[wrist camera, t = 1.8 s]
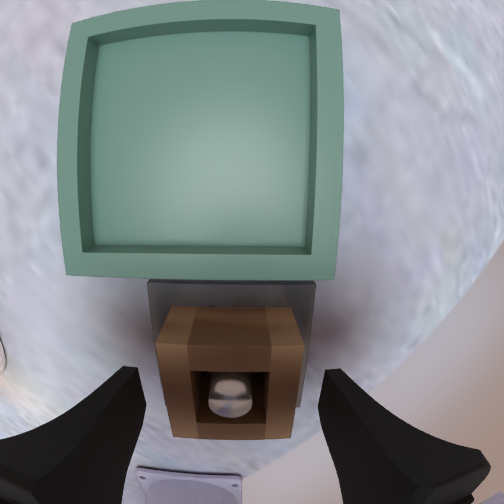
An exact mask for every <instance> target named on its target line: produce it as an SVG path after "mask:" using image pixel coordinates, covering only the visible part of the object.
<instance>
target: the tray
mask: <svg viewBox="0 0 504 504" xmlns="http://www.w3.org/2000/svg"><path fill="white" fill-rule="evenodd" d="M343 134H344V94H343V59H342V40H341V25H340V12H339V9H333V8H327V7H321V6H315V5H308V4H300V3H291V2H280V1H266V0H200V1H186V2H175V3H166V4H158V5H151V6H145V7H138V8H133V9H127V10H122V11H118V12H113V13H109V14H104V15H100V16H96V17H92V18H89V19H85V20H81V21H78V22H75V23H72V26H71V31H70V35H69V40H68V46H67V51H66V57H65V63H64V70H63V77H62V85H61V95H60V105H59V119H58V141H57V181H58V203H59V217H60V229H61V238H62V247H63V255H64V262H65V268H66V275H71V276H93V277H119V278H150V279H192V280H334V276H335V266H336V256H337V246H338V234H339V222H340V208H341V191H342V170H343Z"/></svg>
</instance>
